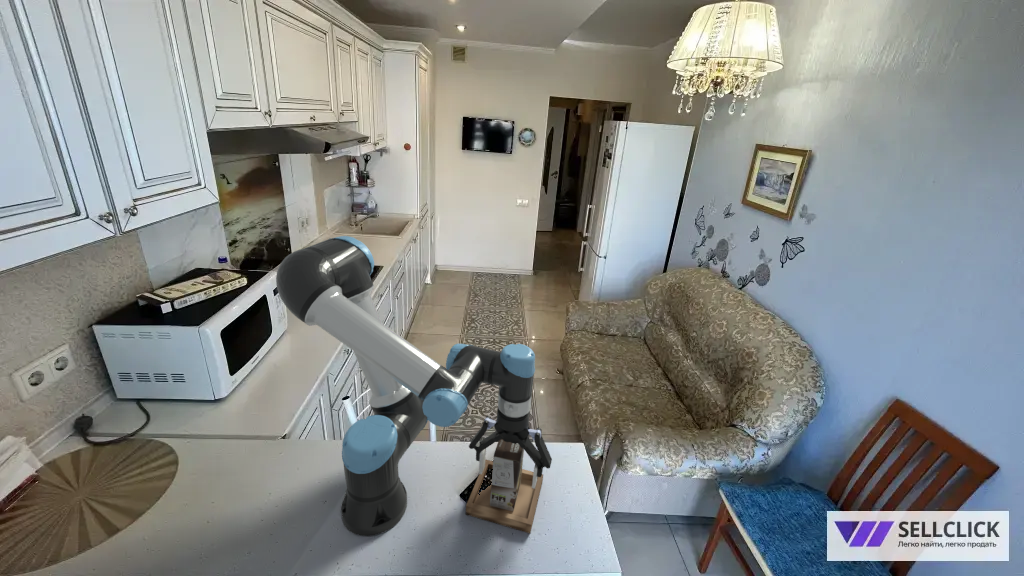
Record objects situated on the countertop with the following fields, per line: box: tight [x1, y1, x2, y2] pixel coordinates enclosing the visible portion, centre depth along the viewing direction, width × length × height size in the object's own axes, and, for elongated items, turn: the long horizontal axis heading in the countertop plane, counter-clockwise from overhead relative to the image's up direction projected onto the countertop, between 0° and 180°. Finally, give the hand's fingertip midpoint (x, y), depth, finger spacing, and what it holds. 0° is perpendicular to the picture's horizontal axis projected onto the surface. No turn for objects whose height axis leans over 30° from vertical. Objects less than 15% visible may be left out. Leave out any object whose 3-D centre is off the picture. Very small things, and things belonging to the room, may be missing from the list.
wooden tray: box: [465, 459, 544, 534], centre depth 103 cm, size 16×15×3 cm
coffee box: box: [490, 439, 525, 511], centre depth 101 cm, size 9×6×16 cm
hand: (507, 477), depth 101 cm, fingers open, 13 cm apart
